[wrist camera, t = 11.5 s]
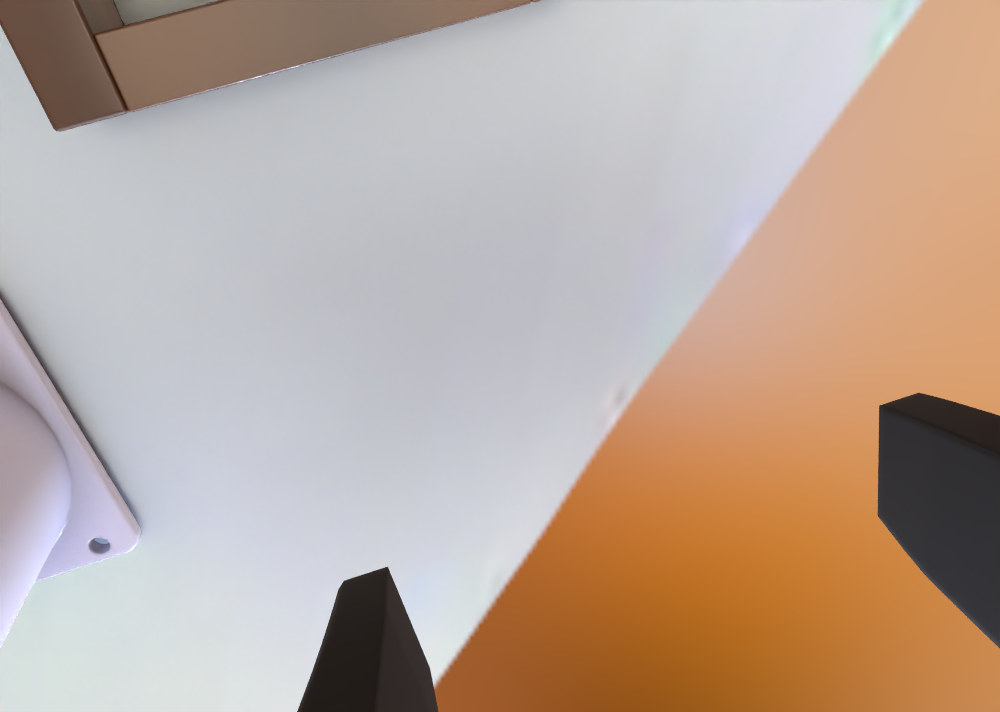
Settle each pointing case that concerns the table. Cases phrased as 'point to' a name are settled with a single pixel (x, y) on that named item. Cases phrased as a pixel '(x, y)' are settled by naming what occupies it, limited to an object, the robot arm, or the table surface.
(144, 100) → the holder
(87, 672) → the table surface
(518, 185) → the table surface
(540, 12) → the table surface
